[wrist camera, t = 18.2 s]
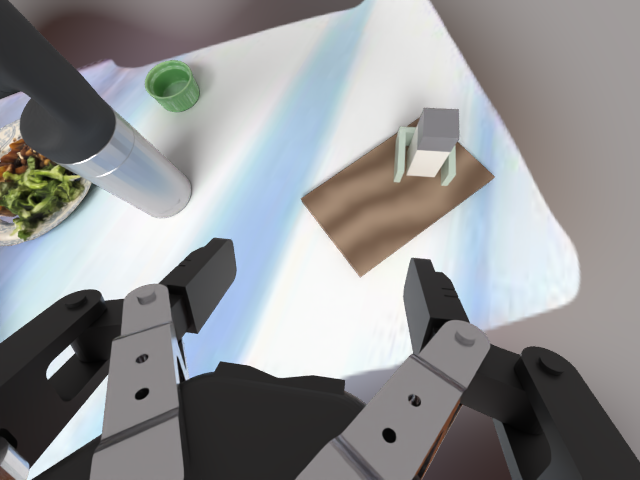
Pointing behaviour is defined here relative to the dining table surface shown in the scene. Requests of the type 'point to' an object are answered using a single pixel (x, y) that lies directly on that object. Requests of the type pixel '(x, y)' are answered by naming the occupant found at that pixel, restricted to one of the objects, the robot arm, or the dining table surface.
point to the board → (387, 203)
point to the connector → (432, 141)
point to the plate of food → (33, 189)
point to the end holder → (401, 141)
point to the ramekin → (172, 85)
